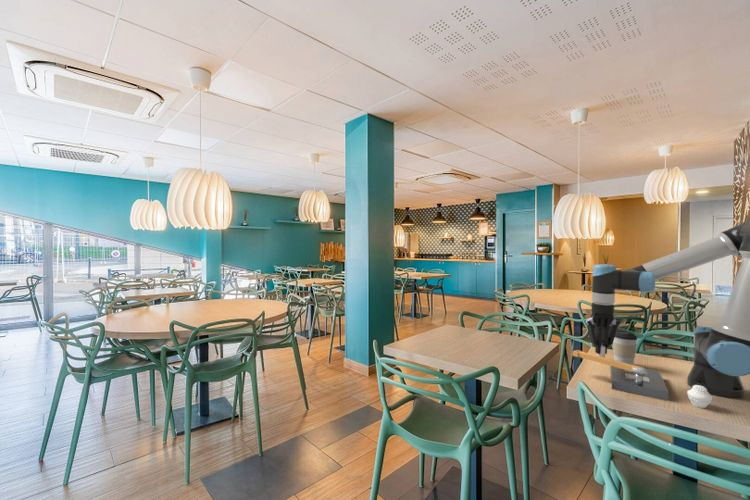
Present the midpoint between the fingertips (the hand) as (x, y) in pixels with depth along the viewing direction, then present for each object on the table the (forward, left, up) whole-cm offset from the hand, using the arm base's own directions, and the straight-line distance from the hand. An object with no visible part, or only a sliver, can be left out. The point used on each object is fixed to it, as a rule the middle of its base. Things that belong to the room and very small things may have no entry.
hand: (600, 361), depth 136 cm
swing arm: (-2, +4, +1) cm, 5 cm away
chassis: (-12, -2, -7) cm, 14 cm away
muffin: (-28, +9, -7) cm, 30 cm away
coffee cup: (-9, -25, -7) cm, 27 cm away
